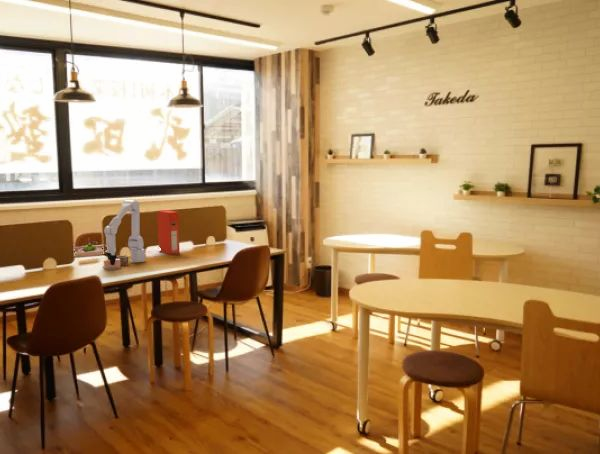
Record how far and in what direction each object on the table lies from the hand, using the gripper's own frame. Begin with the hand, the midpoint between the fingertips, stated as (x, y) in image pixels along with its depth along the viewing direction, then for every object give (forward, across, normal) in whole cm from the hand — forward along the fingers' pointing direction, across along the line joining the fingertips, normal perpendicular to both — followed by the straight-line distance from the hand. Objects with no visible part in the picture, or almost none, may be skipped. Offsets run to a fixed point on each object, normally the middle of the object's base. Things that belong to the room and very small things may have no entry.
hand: (111, 263), depth 359 cm
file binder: (+3, -36, +48) cm, 60 cm away
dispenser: (+3, -8, +8) cm, 12 cm away
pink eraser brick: (+2, 0, 0) cm, 2 cm away
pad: (+3, 0, 0) cm, 3 cm away
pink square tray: (+3, -62, -6) cm, 62 cm away
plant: (+3, -62, -6) cm, 62 cm away
